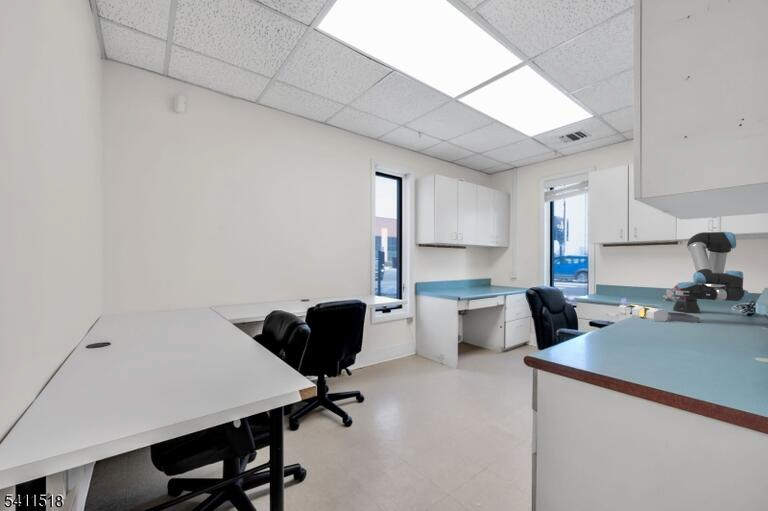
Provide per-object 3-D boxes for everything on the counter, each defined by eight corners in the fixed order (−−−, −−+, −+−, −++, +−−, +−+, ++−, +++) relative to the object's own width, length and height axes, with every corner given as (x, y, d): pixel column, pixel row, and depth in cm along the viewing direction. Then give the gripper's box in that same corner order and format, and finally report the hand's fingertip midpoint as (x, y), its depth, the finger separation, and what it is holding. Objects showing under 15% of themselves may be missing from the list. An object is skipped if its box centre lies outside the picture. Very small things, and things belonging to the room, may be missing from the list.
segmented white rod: (618, 314, 221) (619, 296, 221) (631, 314, 223) (631, 296, 223) (653, 321, 197) (654, 301, 197) (667, 321, 198) (667, 301, 198)
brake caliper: (694, 299, 199) (683, 284, 200) (680, 309, 200) (668, 294, 201) (679, 297, 211) (668, 283, 211) (665, 306, 211) (654, 292, 212)
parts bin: (685, 318, 210) (685, 313, 210) (699, 322, 195) (699, 317, 195) (658, 316, 215) (658, 311, 215) (670, 320, 200) (670, 315, 200)
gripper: (726, 302, 188) (681, 299, 196) (702, 297, 210) (662, 295, 218) (726, 290, 188) (681, 287, 196) (702, 287, 210) (662, 285, 218)
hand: (671, 292), depth 207 cm, fingers closed on brake caliper, 11 cm apart
